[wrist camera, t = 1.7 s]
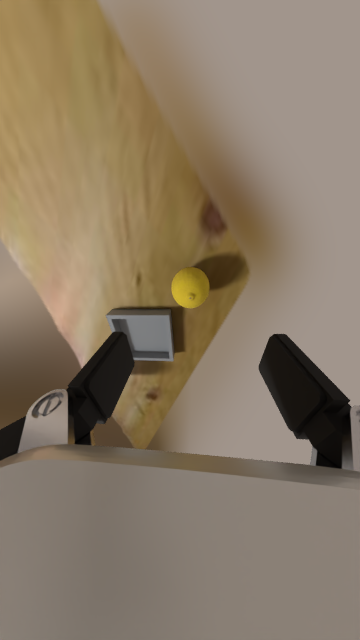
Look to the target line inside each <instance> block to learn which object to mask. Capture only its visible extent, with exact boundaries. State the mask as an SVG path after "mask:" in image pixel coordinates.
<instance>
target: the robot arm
mask: <svg viewBox="0 0 360 640" xmlns="http://www.w3.org/2000/svg"><path fill="white" fill-rule="evenodd" d="M133 367H134V358H133V355H132V352H131V348H130V345H129V342H128V338H127V335H126V334H124V332H116V331H115V332H113V333H112V334H111V335H110V336H109V337H108V339H107V340H106V341H105V342H104V343H103V345H102V346H101V347H100V348H99V349H98V351H97V352H96V353H95V354H94V355H93V356H92V358H91V359H90V360H89V361H88V362H87V364H86V365H85V366H84V367H83V368H82V369H81V371H80V372H79V373H78V374H77V376H76V377H75V378H74V379H73V380H72V381H71V382H70V384H69V385H68V387H69V388H68V389H67V390H64V389H58V390H54V391H51V392H49V393H47V394H45V395H43V396H42V397H41V398H39V399H38V400H37V401H36V402H35V403H34V404H33V405H32V406H31V408H30V409H29V411H28V413H27V416H25V417H23V418H21V419H19V420H17V421H16V422H14V423H12V424H10V425H8V426H6V427H4V428H3V429H1V430H0V640H360V406H353V407H351V406H350V405H349V404H348V402H349V401H350V400H349V399H348V398H347V397H346V396H345V395H344V394H343V393H342V392H341V391H340V390H339V389H338V388H337V386H336V385H335V384H334V383H333V382H332V381H331V380H330V379H328V377H327V376H326V375H325V374H324V373H323V372H322V371H321V370H320V369H319V368H318V367H317V366H316V365H315V364H314V363H313V362H312V361H311V360H310V359H309V358H308V357H307V356H306V355H305V354H304V353H303V352H302V351H301V349H299V347H298V346H296V344H295V343H294V342H293V341H292V340H291V339H290V338H289V337H288V336H287V335H285V334H274V335H272V336H271V337H270V338H269V340H268V343H267V345H266V348H265V351H264V353H263V356H262V359H261V361H260V364H259V371H260V373H261V375H262V377H263V379H264V381H265V383H266V385H267V387H268V389H269V391H270V392H271V395H272V397H273V399H274V401H275V403H276V405H277V407H278V409H279V411H280V413H281V414H282V417H283V418H284V420H285V423H286V424H287V426H288V428H289V429H290V430H291V431H293V433H294V435H295V436H296V438H297V439H309V441H310V442H311V444H312V455H311V462H310V465H303V464H293V463H283V462H273V461H263V460H252V459H241V458H231V457H219V456H209V455H199V454H188V453H176V452H165V451H154V450H143V449H131V448H119V447H107V446H95V440H94V433H93V428H94V426H95V424H96V423H99V424H105V423H106V421H107V418H109V417H110V416H111V415H112V413H113V411H114V409H115V406H116V404H117V402H118V400H119V398H120V395H121V393H122V391H123V389H124V387H125V385H126V382H127V380H128V378H129V376H130V374H131V371H132V369H133Z"/></svg>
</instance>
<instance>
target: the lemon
mask: <svg viewBox="0 0 360 640" xmlns="http://www.w3.org/2000/svg"><path fill="white" fill-rule="evenodd" d="M171 287H172V294H173V297H174V299H175V300H176V302H177V303H178V304H179V305H181V306H183V307H186V308H195V307H198V306H200V305H201V304H202V303H203V302H204V301H205V300H206V298H207V296H208V294H209V289H210V287H209V281H208V278H207V276H206V275H205V273H204V272H203V271H201V270H200V269H198V268H194V267H187V268H184V269H182V270H180V271H179V272H178V273H177V274H176V275H175V277H174V279H173V281H172V286H171Z"/></svg>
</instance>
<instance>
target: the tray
mask: <svg viewBox="0 0 360 640" xmlns="http://www.w3.org/2000/svg"><path fill="white" fill-rule="evenodd" d="M106 317H107V320H108V323H109V325H110V328H111V331H112V333H113V332H115V331H116V332H124V334H126V335H127V338H128V342H129V345H130V348H131V352H132V355H133V358H134V360H149V361H173V360H174V341H173V329H172V317H171V309H112V310H111V311H110V312H109V313H108V314H107V315H106Z"/></svg>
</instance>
